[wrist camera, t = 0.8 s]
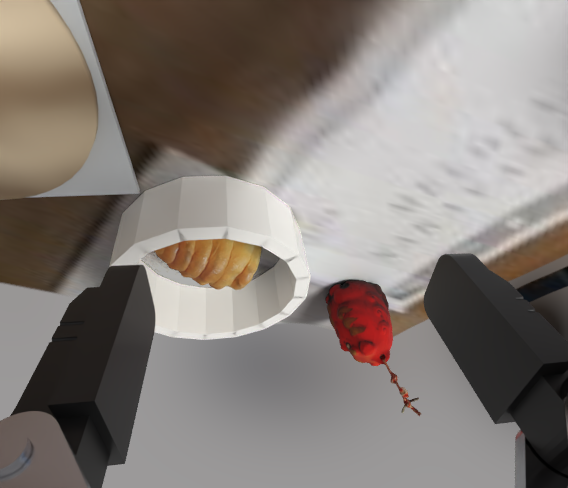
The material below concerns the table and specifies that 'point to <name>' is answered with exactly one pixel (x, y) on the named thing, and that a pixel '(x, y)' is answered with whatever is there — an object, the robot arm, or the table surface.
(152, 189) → the bowl
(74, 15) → the mat
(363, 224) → the table surface
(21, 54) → the lid
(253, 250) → the pastry
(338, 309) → the red clay folk toy
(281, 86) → the table surface
